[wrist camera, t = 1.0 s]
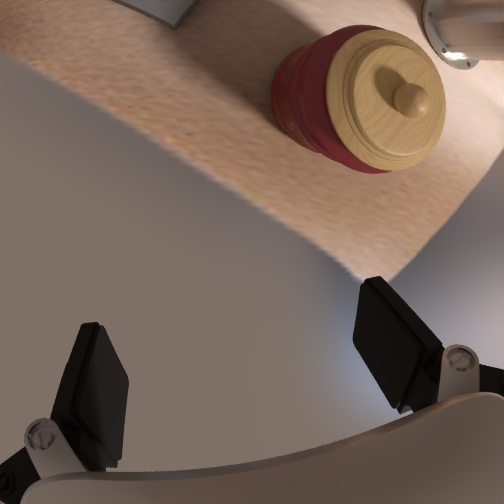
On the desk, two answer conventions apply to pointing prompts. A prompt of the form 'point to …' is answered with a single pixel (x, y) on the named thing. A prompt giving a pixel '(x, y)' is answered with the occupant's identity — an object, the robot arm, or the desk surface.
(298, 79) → the canister
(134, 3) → the board
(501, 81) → the desk surface
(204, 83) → the desk surface
